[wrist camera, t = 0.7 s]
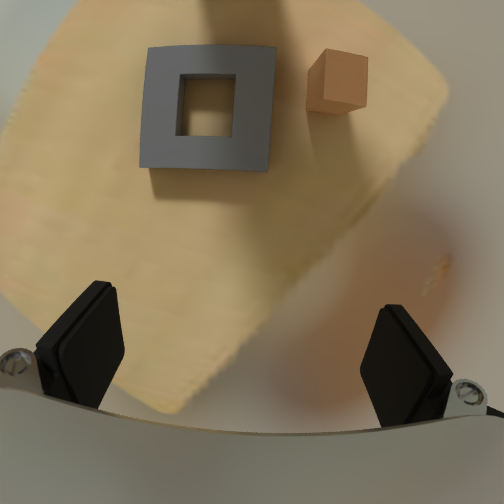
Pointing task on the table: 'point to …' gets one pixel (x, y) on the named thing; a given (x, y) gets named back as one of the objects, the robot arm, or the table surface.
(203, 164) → the socket plate
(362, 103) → the plug
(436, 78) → the table surface
